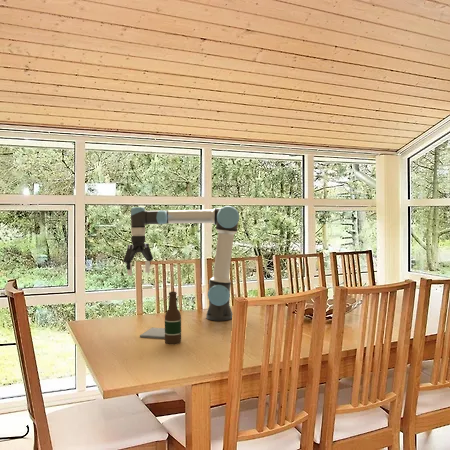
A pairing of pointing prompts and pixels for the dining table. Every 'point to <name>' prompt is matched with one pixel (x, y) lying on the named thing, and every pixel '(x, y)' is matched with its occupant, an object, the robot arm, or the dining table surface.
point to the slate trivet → (154, 333)
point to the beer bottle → (172, 322)
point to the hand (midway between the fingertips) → (138, 274)
